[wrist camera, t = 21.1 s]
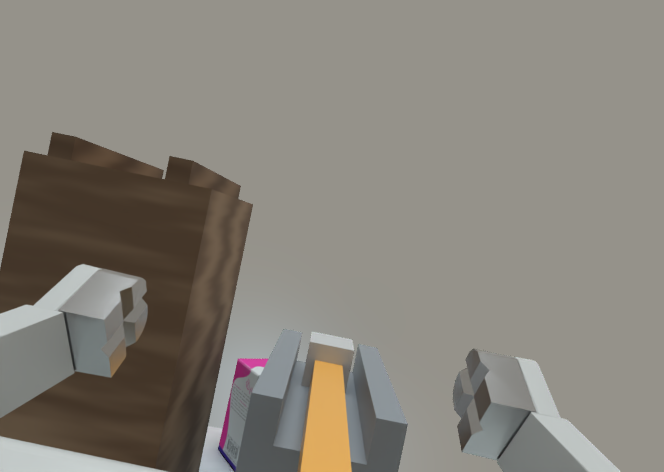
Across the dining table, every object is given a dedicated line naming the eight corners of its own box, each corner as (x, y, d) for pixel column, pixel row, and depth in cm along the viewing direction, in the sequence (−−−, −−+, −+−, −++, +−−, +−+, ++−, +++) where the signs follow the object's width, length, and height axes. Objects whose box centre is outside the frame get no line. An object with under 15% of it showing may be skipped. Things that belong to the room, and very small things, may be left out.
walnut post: (116, 655, 27) (216, 165, 27) (-71, 618, 27) (28, 127, 27) (190, 511, 41) (256, 189, 41) (67, 486, 41) (132, 164, 41)
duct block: (350, 704, 27) (407, 424, 27) (194, 672, 27) (251, 392, 27) (342, 515, 45) (377, 347, 45) (249, 496, 45) (283, 328, 45)
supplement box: (280, 465, 52) (299, 373, 52) (235, 474, 48) (256, 375, 48) (258, 441, 56) (276, 356, 56) (216, 448, 53) (234, 357, 53)
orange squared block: (357, 540, 20) (374, 456, 20) (273, 523, 20) (291, 439, 20) (343, 379, 42) (351, 339, 42) (304, 371, 42) (312, 331, 42)
